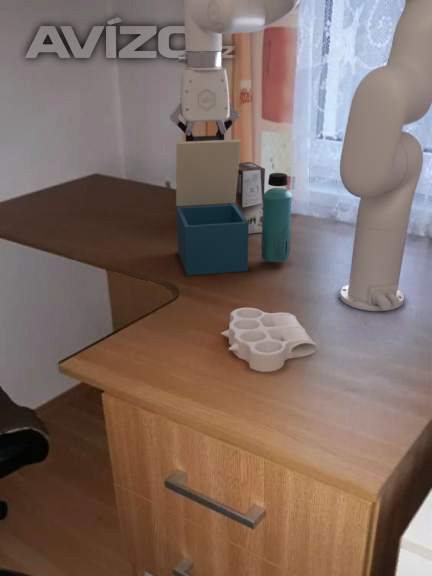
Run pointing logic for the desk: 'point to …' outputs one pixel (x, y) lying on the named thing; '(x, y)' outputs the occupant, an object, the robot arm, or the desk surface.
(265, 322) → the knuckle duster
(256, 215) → the coffee box
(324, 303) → the desk surface
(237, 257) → the box
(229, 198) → the cooler lid
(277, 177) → the beverage bottle
